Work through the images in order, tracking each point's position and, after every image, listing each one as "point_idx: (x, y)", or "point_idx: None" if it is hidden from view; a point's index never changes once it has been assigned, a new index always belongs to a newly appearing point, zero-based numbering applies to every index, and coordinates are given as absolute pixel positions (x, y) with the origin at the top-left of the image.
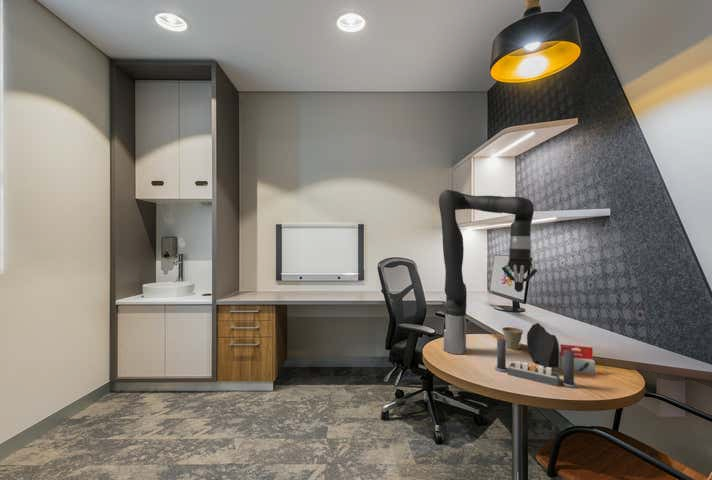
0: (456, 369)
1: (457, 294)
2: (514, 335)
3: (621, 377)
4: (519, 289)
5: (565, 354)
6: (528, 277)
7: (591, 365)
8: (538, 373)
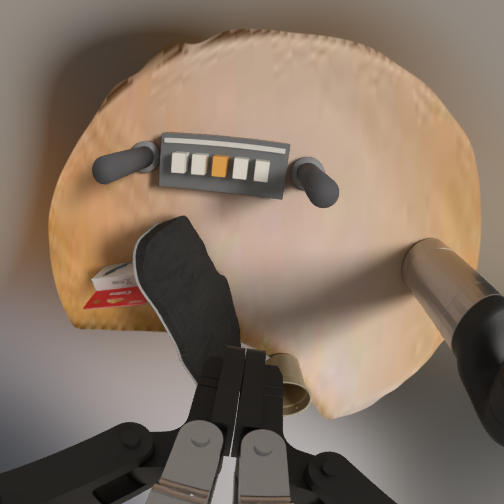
0: (416, 120)
1: None
2: None
3: (70, 273)
4: (232, 360)
5: (115, 157)
6: (91, 458)
7: (101, 273)
8: (206, 140)
